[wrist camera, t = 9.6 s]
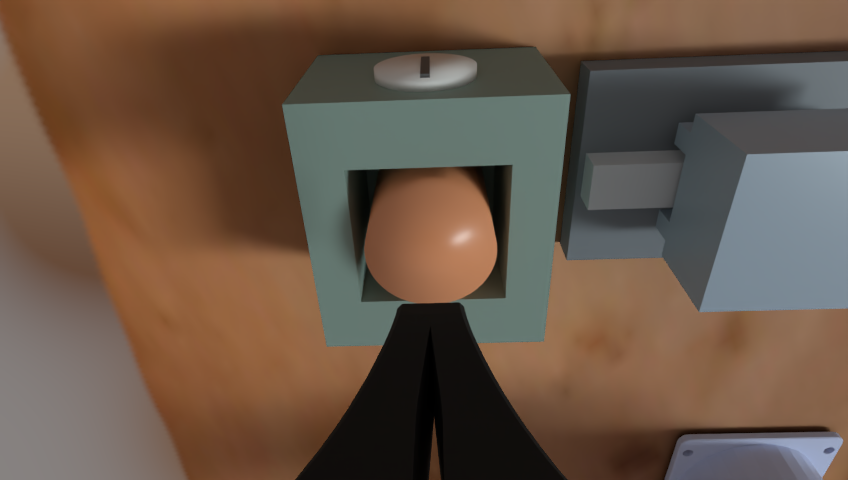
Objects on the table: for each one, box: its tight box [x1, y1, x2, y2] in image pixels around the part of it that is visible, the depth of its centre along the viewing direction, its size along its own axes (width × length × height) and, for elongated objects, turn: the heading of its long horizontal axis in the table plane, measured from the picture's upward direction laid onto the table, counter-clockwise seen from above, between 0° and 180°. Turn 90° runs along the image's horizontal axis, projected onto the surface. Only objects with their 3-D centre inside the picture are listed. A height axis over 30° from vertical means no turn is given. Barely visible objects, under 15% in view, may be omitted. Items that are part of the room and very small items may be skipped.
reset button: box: [364, 166, 497, 303], centre depth 16 cm, size 4×4×4 cm
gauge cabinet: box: [282, 47, 571, 346], centre depth 17 cm, size 8×7×5 cm
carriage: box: [656, 108, 848, 312], centre depth 16 cm, size 5×5×4 cm
